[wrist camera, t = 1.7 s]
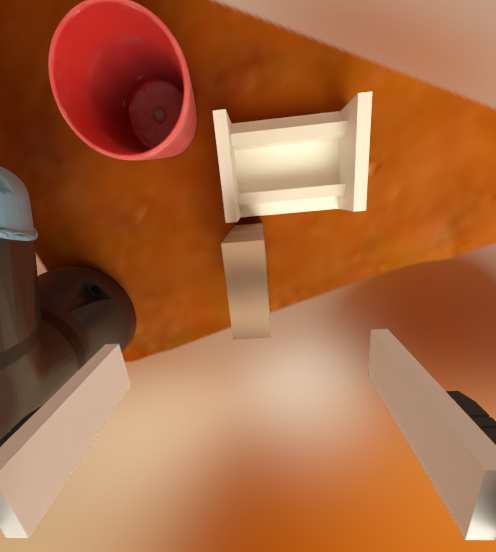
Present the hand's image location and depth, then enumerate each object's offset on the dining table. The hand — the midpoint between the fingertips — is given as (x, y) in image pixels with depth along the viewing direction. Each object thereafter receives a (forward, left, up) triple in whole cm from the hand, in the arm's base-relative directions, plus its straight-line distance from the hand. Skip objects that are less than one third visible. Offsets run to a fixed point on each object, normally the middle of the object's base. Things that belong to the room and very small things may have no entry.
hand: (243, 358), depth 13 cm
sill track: (+5, +11, -21) cm, 24 cm away
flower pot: (-9, +17, -21) cm, 29 cm away
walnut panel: (0, 0, -21) cm, 21 cm away
